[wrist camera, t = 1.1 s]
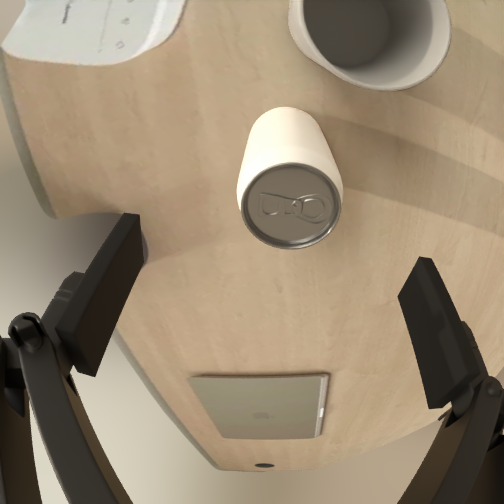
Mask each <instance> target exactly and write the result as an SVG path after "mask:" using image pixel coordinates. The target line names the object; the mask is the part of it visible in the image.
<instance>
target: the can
mask: <svg viewBox="0 0 504 504" xmlns="http://www.w3.org/2000/svg"><path fill="white" fill-rule="evenodd" d="M237 200H238V205H239V208H240V210H241V213H242V217H243V220H244V223H245V225H246V226H247V228H248V229H249V231H250V232H251V233H252V234H253V235H254V236H255V237H256V238H257V239H259V240H260V241H262V242H263V243H265V244H267V245H270V246H272V247H276V248H280V249H301V248H306V247H309V246H312V245H314V244H316V243H318V242H320V241H321V240H323V239H324V238H325V237H327V236H328V235H329V234H330V233H331V232H332V230H333V229H334V228H335V226H336V224H337V222H338V220H339V217H340V213H341V205H342V201H343V184H342V180H341V176H340V173H339V171H338V168H337V165H336V163H335V161H334V158H333V156H332V153H331V151H330V149H329V146H328V144H327V142H326V139H325V137H324V135H323V133H322V131H321V129H320V127H319V125H318V123H317V122H316V121H315V120H314V119H313V118H312V117H311V116H310V115H309V114H307V113H306V112H304V111H302V110H300V109H297V108H292V107H279V108H275V109H272V110H270V111H267V112H266V113H264V114H263V115H262V116H260V117H259V118H258V119H257V121H256V122H255V123H254V125H253V127H252V129H251V132H250V135H249V138H248V142H247V146H246V150H245V154H244V158H243V162H242V166H241V170H240V175H239V179H238V185H237Z"/></svg>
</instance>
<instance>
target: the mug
mask: <svg viewBox="0 0 504 504" xmlns="http://www.w3.org/2000/svg"><path fill="white" fill-rule="evenodd" d="M289 1H290V7H289V12H288V25H289V30H290V33H291V35H292V38H293V40H294V42H295V43H296V45H297V46H298V48H299V49H300V50H301V51H302V52H303V53H304V54H305V55H306V56H307V57H308V58H310V59H311V60H312V61H314V62H315V63H317V64H319V65H321V66H323V67H324V68H326V69H327V70H329V71H330V72H332V73H333V74H335V75H336V76H338V77H339V78H341V79H343V80H345V81H347V82H349V83H351V84H353V85H356V86H359V87H362V88H365V89H369V90H375V91H400V90H404V89H408V88H411V87H414V86H416V85H418V84H420V83H422V82H424V81H425V80H427V79H428V78H429V77H431V76H432V75H433V74H434V73H435V72H436V71H437V70H438V69H439V67H440V66H441V65H442V63H443V61H444V59H445V58H446V56H447V53H448V50H449V47H450V42H451V33H452V28H451V18H450V14H449V10H448V7H447V4H446V2H445V0H289Z"/></svg>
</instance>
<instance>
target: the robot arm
mask: <svg viewBox="0 0 504 504" xmlns="http://www.w3.org/2000/svg"><path fill="white" fill-rule="evenodd" d="M143 263H144V257H143V247H142V238H141V226H140V215H138V214H130V213H124V214H123V215H122V217H121V218H120V220H119V221H118V222H117V224H116V225H115V227H114V229H113V230H112V231H111V233H110V234H109V236H108V238H107V239H106V240H105V242H104V243H103V245H102V247H101V248H100V250H99V251H98V253H97V254H96V256H95V257H94V259H93V261H92V262H91V264H90V266H89V267H88V269H87V270H86V272H85V274H84V273H79V272H73V273H72V274H71V275H69V276H68V277H67V278H66V279H65V280H64V281H63V283H62V284H61V286H60V288H59V291H57V292H56V294H55V296H54V299H52V301H51V302H50V304H49V306H48V307H47V309H46V311H45V313H44V314H43V316H42V318H41V320H40V318H39V316H37V315H36V314H35V313H30V312H26V313H22V314H20V315H18V316H16V317H15V318H14V319H13V321H11V324H10V326H9V329H8V334H9V336H10V337H11V338H2V337H1V336H0V504H42V500H41V495H40V490H39V485H38V480H37V474H36V467H35V461H34V453H33V446H32V437H31V436H32V435H31V425H30V410H29V400H30V403H31V407H32V410H33V414H34V417H35V420H36V423H37V426H38V429H39V432H40V435H41V438H42V441H43V444H44V446H45V449H46V452H47V454H48V457H49V460H50V462H51V465H52V467H53V469H54V472H55V474H56V477H57V479H58V481H59V483H60V485H61V488H62V490H63V492H64V494H65V496H66V498H67V500H68V502H69V504H133V502H132V501H131V500H130V497H129V496H128V494H127V493H126V491H125V489H124V487H123V486H122V484H121V482H120V481H119V479H118V477H117V475H116V473H115V471H114V470H113V468H112V466H111V464H110V462H109V460H108V458H107V456H106V454H105V453H104V450H103V448H102V446H101V444H100V442H99V440H98V438H97V436H96V434H95V431H94V429H93V427H92V425H91V423H90V420H89V418H88V416H87V413H86V411H85V409H84V407H83V404H82V401H81V399H80V396H79V394H78V391H77V389H76V386H75V383H74V381H73V378H72V375H71V374H70V371H71V369H72V366H73V365H74V366H75V368H76V370H77V372H79V373H83V374H86V375H89V376H92V377H95V376H96V374H97V371H98V368H99V366H100V363H101V360H102V358H103V355H104V353H105V350H106V347H107V345H108V343H109V340H110V338H111V335H112V333H113V331H114V328H115V326H116V323H117V321H118V319H119V316H120V314H121V312H122V309H123V307H124V305H125V303H126V300H127V298H128V296H129V293H130V291H131V289H132V287H133V285H134V282H135V280H136V278H137V276H138V274H139V272H140V269H141V267H142V265H143ZM397 297H398V300H399V303H400V306H401V309H402V312H403V315H404V318H405V321H406V325H407V328H408V331H409V334H410V338H411V341H412V345H413V348H414V352H415V355H416V359H417V363H418V367H419V370H420V374H421V378H422V382H423V386H424V390H425V395H426V399H427V403H428V408H429V409H436V408H443V407H444V406H445V405H446V404H448V403H449V402H450V401H451V404H452V407H451V408H450V409H449V410H447V411H446V412H445V413H444V414H442V415H441V416H440V417H439V419H438V420H439V421H440V420H441V419H442V418H444V417H445V418H444V421H443V422H442V425H441V427H440V429H439V431H438V433H437V435H436V437H435V440H434V441H433V444H432V445H431V447H430V449H429V451H428V453H427V455H426V457H425V458H424V460H423V462H422V464H421V466H420V467H419V469H418V471H417V473H416V474H415V476H414V478H413V479H412V481H411V483H410V484H409V486H408V487H407V489H406V491H405V492H404V494H403V495H402V497H401V499H400V500H399V501H398V503H397V504H504V435H503V429H504V389H503V388H502V385H501V384H500V382H499V381H498V380H497V379H496V378H494V377H492V376H489V375H488V372H487V369H486V367H485V364H484V361H483V358H482V356H481V353H480V351H479V349H478V346H477V343H476V341H475V338H474V336H473V333H472V331H471V329H470V328H469V327H468V325H467V324H466V323H465V321H461V320H460V317H459V315H458V313H457V311H456V308H455V306H454V304H453V302H452V299H451V297H450V295H449V293H448V291H447V289H446V287H445V284H444V282H443V280H442V278H441V276H440V274H439V272H438V270H437V268H436V266H435V264H434V262H433V260H432V259H431V258H426V257H420V256H419V258H418V260H417V262H416V264H415V266H414V267H413V269H412V271H411V273H410V275H409V277H408V279H407V280H406V282H405V284H404V286H403V288H402V289H401V291H400V293H399V295H398V296H397Z"/></svg>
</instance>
